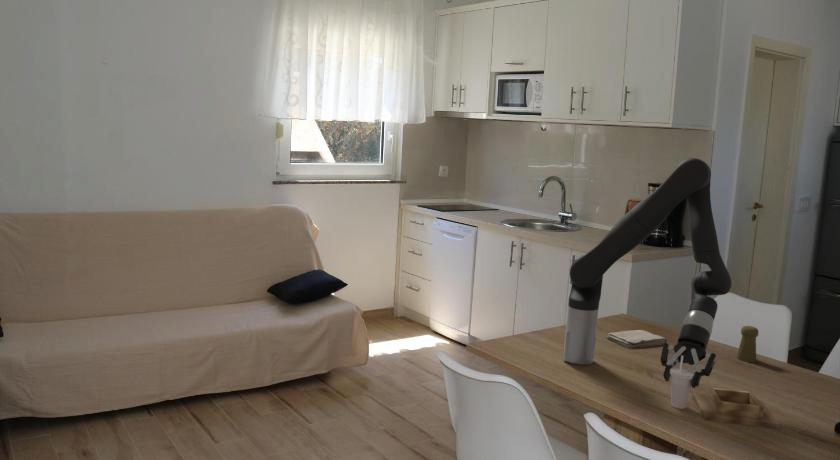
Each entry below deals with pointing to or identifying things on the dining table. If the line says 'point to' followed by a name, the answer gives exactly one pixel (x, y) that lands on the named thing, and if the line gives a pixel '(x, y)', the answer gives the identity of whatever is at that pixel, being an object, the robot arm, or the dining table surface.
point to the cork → (748, 344)
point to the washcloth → (636, 338)
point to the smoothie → (680, 385)
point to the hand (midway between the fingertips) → (679, 383)
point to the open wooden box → (734, 408)
